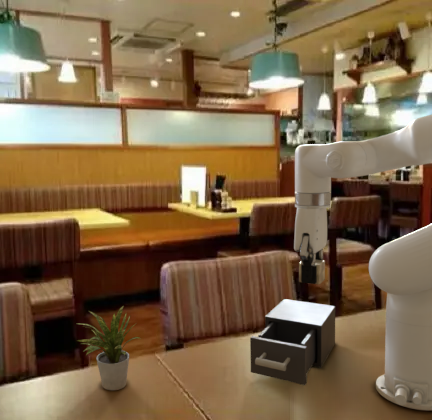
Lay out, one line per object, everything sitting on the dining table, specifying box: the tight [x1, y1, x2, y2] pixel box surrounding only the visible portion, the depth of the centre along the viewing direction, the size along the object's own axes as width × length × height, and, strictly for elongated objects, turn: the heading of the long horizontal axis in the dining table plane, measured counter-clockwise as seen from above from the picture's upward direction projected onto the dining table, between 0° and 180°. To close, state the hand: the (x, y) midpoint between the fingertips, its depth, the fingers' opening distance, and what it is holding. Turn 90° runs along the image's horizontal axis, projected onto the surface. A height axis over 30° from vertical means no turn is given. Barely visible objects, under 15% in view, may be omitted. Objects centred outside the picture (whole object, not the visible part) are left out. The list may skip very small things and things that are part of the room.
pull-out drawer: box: [249, 321, 317, 386], centre depth 96 cm, size 18×12×8 cm, turn 146°
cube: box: [298, 259, 326, 285], centre depth 100 cm, size 4×4×4 cm
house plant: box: [76, 305, 142, 391], centre depth 96 cm, size 14×14×16 cm
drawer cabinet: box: [264, 298, 336, 369], centre depth 108 cm, size 15×13×10 cm
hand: (312, 279), depth 101 cm, fingers closed on cube, 4 cm apart
